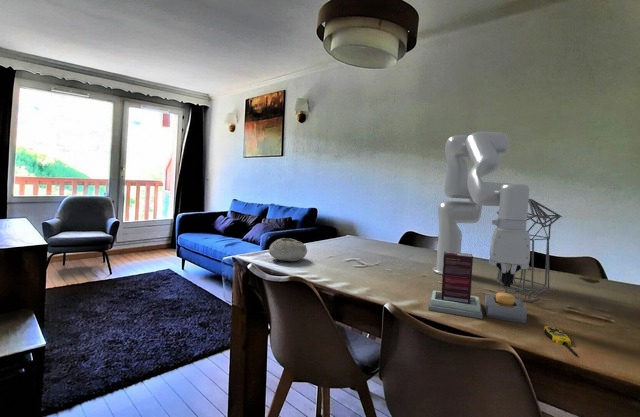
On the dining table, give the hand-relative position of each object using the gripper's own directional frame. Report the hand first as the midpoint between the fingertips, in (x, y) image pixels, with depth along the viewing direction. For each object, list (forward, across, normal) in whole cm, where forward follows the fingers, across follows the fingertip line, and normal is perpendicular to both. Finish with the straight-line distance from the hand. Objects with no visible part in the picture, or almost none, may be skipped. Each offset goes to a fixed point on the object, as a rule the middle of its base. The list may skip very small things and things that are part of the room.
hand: (506, 285), depth 104 cm
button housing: (+9, 0, 0) cm, 9 cm away
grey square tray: (+9, -14, 0) cm, 17 cm away
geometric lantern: (+9, +8, +22) cm, 25 cm away
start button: (+6, 0, 0) cm, 6 cm away
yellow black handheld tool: (+10, +11, -14) cm, 21 cm away
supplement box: (+8, -14, 0) cm, 16 cm away
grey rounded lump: (+9, -88, +29) cm, 93 cm away
